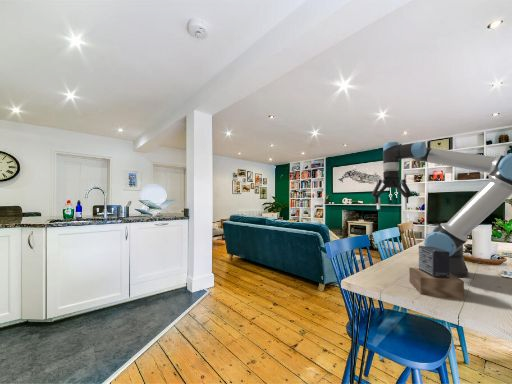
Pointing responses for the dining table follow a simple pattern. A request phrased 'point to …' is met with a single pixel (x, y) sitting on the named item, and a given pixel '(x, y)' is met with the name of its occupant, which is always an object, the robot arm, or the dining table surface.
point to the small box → (434, 261)
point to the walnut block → (436, 284)
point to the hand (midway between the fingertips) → (391, 209)
